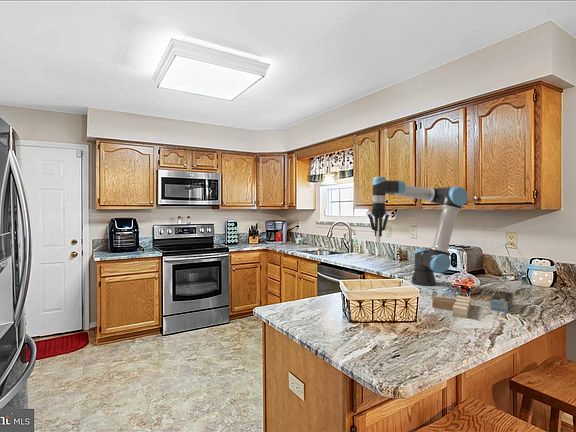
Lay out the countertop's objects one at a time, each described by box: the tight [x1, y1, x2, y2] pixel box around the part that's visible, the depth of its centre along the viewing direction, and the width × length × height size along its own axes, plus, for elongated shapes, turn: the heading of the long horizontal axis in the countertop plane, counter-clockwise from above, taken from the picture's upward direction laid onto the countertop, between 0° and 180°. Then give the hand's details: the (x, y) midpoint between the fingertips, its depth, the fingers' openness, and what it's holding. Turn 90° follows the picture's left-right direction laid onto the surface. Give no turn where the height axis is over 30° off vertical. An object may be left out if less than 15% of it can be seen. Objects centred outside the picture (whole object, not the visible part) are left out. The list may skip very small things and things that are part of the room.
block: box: [431, 295, 457, 312], centre depth 170 cm, size 7×10×4 cm
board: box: [451, 295, 472, 319], centre depth 166 cm, size 24×6×4 cm, turn 148°
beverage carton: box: [489, 290, 514, 314], centre depth 171 cm, size 8×19×7 cm, turn 141°
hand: (378, 241), depth 203 cm, fingers closed
